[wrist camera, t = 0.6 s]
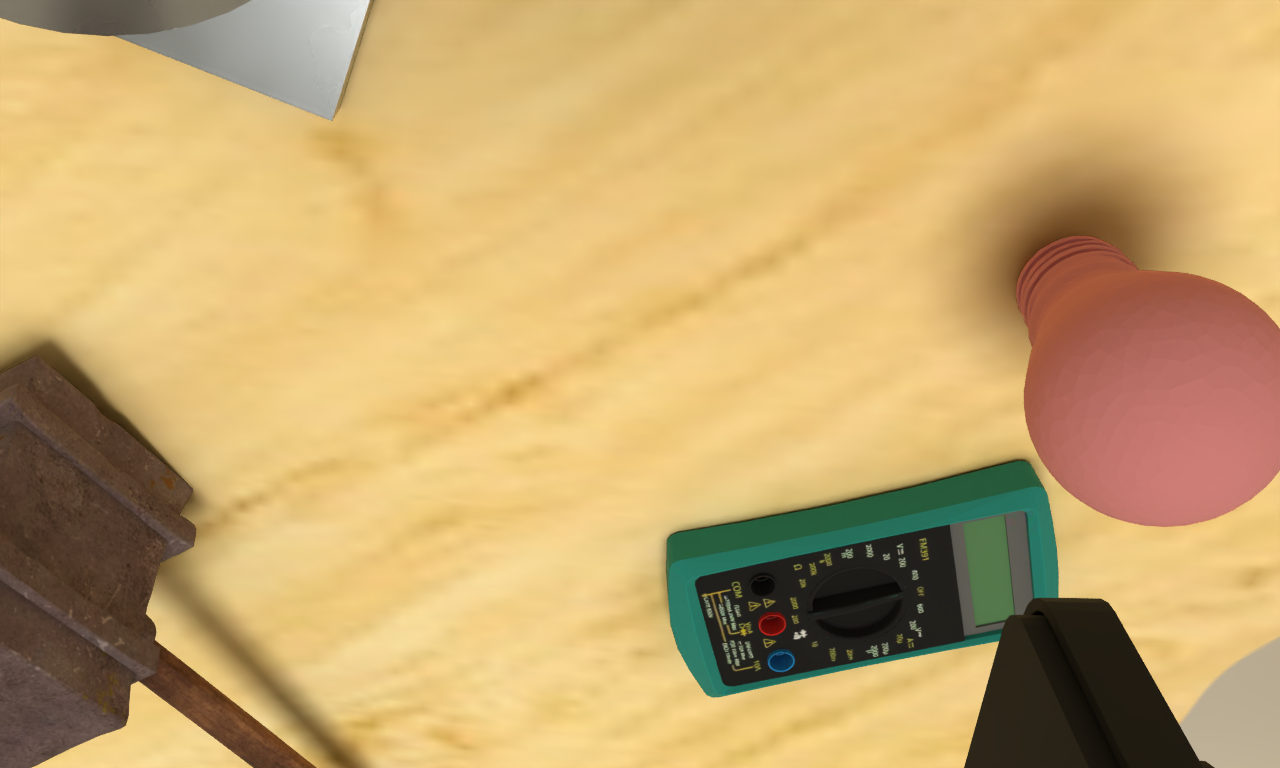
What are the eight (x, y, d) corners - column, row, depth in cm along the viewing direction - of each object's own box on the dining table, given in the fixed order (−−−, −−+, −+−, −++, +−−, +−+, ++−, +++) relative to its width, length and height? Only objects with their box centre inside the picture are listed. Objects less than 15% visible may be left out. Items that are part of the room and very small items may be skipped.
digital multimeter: (649, 528, 46) (653, 578, 43) (1031, 447, 44) (1058, 493, 42) (690, 662, 49) (695, 715, 47) (1043, 591, 48) (1068, 641, 45)
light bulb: (916, 244, 39) (1032, 439, 29) (1115, 132, 38) (1314, 297, 27) (1000, 395, 42) (1132, 619, 32) (1188, 298, 41) (1391, 502, 30)
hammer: (33, 339, 38) (-69, 573, 31) (531, 772, 59) (542, 976, 51) (-122, 421, 40) (-256, 665, 32) (417, 816, 60) (412, 1022, 53)
